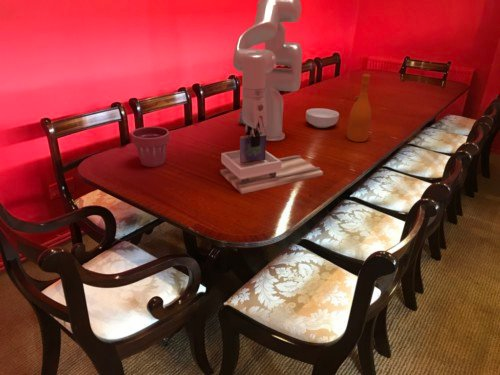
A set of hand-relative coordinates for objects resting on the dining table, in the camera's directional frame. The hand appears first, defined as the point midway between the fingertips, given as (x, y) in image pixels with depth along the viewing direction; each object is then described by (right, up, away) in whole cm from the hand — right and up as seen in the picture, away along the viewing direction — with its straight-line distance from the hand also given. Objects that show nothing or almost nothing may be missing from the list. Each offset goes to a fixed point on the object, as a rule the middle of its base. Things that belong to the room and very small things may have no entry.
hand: (252, 144), depth 135 cm
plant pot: (-40, -5, +18) cm, 44 cm away
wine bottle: (+49, +7, +46) cm, 68 cm away
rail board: (+7, -10, +9) cm, 16 cm away
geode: (+2, +16, +62) cm, 64 cm away
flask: (0, -6, +3) cm, 7 cm away
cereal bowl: (+36, +16, +63) cm, 75 cm away
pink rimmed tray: (-1, -10, +5) cm, 11 cm away
